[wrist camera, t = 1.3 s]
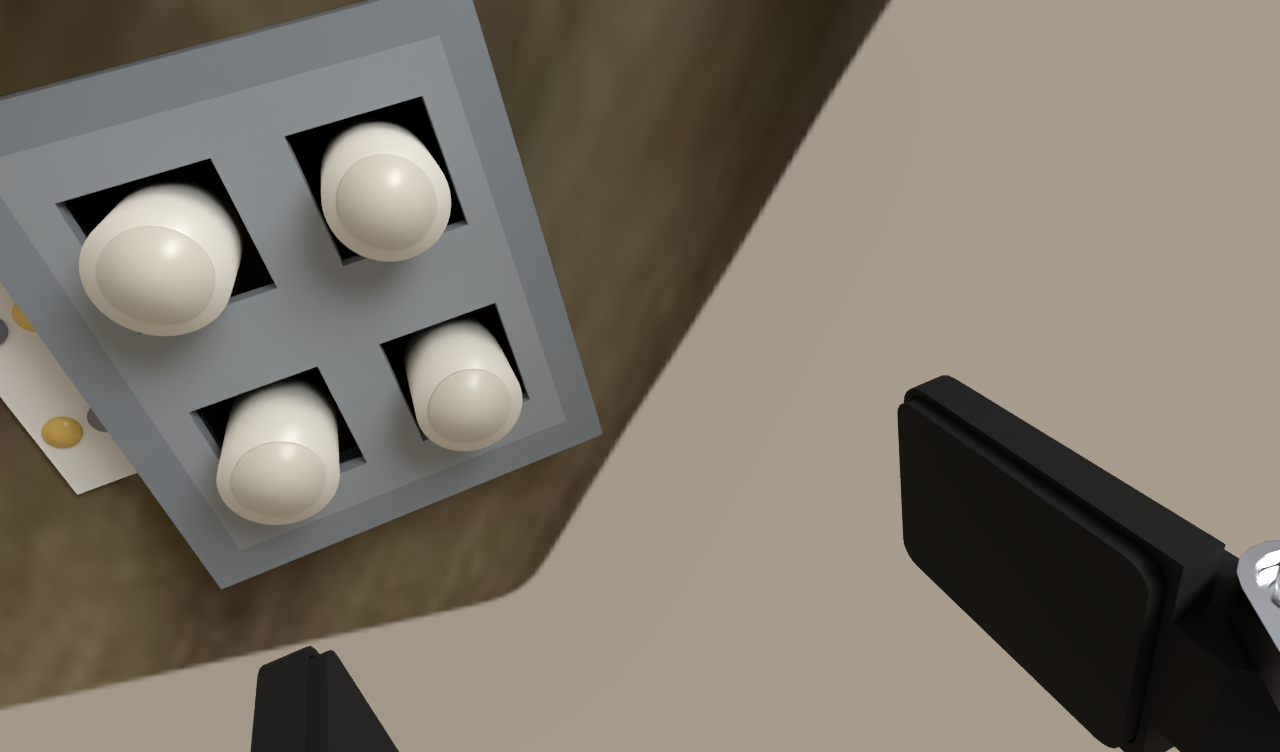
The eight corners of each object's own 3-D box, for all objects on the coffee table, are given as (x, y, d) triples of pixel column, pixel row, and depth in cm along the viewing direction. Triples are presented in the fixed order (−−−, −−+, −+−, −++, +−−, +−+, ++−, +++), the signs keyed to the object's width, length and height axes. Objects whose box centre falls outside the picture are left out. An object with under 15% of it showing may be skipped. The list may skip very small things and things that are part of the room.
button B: (482, 300, 33) (505, 343, 29) (511, 379, 36) (536, 430, 32) (389, 333, 33) (399, 382, 29) (424, 413, 35) (438, 469, 31)
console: (445, -21, 31) (465, -23, 26) (574, 388, 41) (603, 434, 37) (-44, 108, 27) (-109, 129, 23) (232, 522, 37) (221, 589, 33)
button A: (411, 104, 29) (426, 122, 25) (448, 208, 31) (468, 240, 27) (301, 136, 28) (298, 161, 24) (347, 241, 30) (352, 279, 26)
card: (21, 230, 29) (15, 235, 29) (172, 454, 35) (170, 462, 34) (-94, 265, 28) (-103, 271, 28) (80, 488, 34) (75, 497, 33)
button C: (210, 163, 28) (191, 193, 23) (264, 268, 30) (255, 312, 26) (87, 199, 27) (46, 237, 23) (152, 305, 29) (125, 356, 25)
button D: (312, 361, 32) (311, 415, 28) (353, 440, 34) (357, 501, 30) (209, 397, 31) (193, 459, 27) (257, 476, 33) (249, 544, 29)
